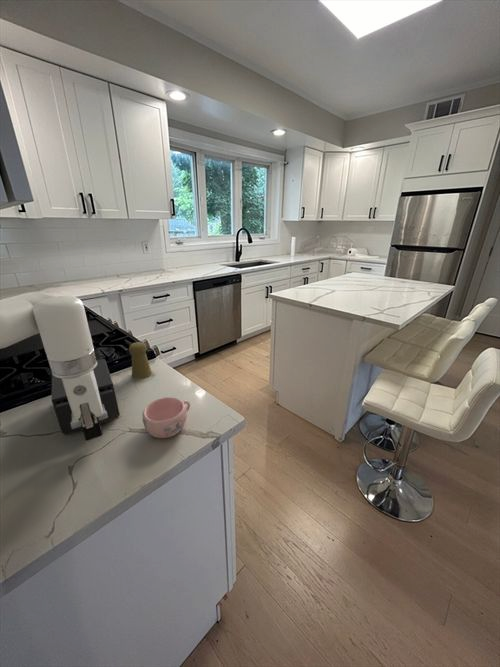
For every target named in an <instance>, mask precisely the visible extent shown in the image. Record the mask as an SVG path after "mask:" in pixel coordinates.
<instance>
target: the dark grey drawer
mask: <svg viewBox="0 0 500 667" xmlns="http://www.w3.org/2000/svg"><path fill="white" fill-rule="evenodd" d="M98 391H99V395H100V399H101V404H102V408H103V415H102V416H98V419H99V423H100V424H103V423H106V422H109V421H112V420H116V419H118V418H119V415H117V410H116V406H115V401H114V396H113V392H112V389H111V390H108V388H105V389H101V390H98ZM56 410H57V413H58V416H59V419H60V422H61V426H62V429H63V432H64V433H63V436H67V435H69V434H72V433H75V432H78V431H83V430H82V426H81V425H82V424H81V421H80V423H78V422H76V421H75V419H74V416H73V413H72V410H71V407H70V404H69V401H68V399H65V400H61V401H60V404H56Z"/></svg>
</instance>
